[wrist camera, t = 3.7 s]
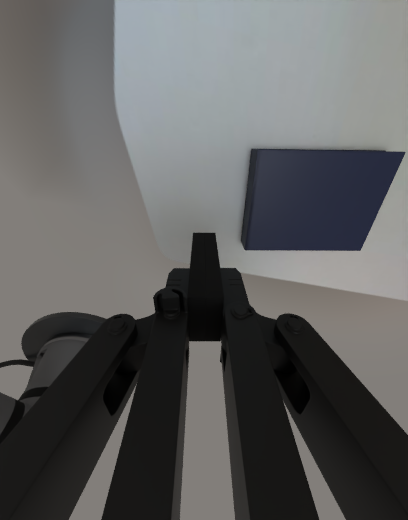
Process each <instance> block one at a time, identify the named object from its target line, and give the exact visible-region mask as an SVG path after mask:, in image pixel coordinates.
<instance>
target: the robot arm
mask: <svg viewBox="0 0 408 520" xmlns="http://www.w3.org/2000/svg"><path fill="white" fill-rule="evenodd" d="M153 299H154V305H155V313H154V314H152V315H151V316H148V317H145V318H141V319H137V320H135V319H134V318H133V317H132V316H130V315H128V314H119V315H114V316H112V317H111V318H108V319H107V320H106V321H105V322H104V323H102V325H101V326H100V327H99V328H98V329H97V331H96V332H95V333H94V334H93V335H90V334H86V333H78V332H69V333H62V334H58V335H55V336H53V337H51V338H50V339H49V340H47V342H46V343H45V344H44V346H43V347H42V348H41V350H40V351H39V354H38V356H37V358H36V362H34V361H28V360H10V361H6V362H2V363H0V368H1V367H4V366H9V365H25V366H32V367H33V370H32V373H31V376H30V379H29V382H28V385H27V388H26V390H25V391H24V393H23V394H22V396H21V397H20V399H19V400H16V399H14V398H12V397H9V396H7V395H5V394H2V393H0V520H69V517H70V516H71V514H72V512H73V510H74V508H75V506H76V503H77V502H78V500H79V497H80V496H81V494H82V492H83V490H84V488H85V486H86V484H87V482H88V480H89V478H90V476H91V474H92V472H93V470H94V468H95V466H96V464H97V461H98V460H99V458H100V456H101V454H102V452H103V450H104V448H105V446H106V444H107V442H108V440H109V438H110V436H111V434H112V432H113V430H114V428H115V426H116V424H117V422H118V420H119V418H120V416H121V414H122V412H123V410H124V408H125V406H126V403H127V402H128V400H129V398H130V396H131V394H132V392H133V390H134V387H135V386H136V389H135V393H134V397H133V401H132V405H131V409H130V413H129V416H128V420H127V424H126V427H125V431H124V435H123V439H122V443H121V447H120V450H119V454H118V458H117V462H116V466H115V470H114V474H113V477H112V481H111V485H110V489H109V492H108V497H107V500H106V504H105V508H104V512H103V516H102V519H101V520H180V503H181V502H180V501H181V486H182V468H183V450H184V433H185V414H186V397H187V379H188V363H189V341H221V343H222V346H221V357H220V362H222V370H223V382H224V394H225V404H226V417H227V429H228V441H229V452H230V464H231V474H232V488H233V499H234V511H235V520H319V517H318V514H317V511H316V507H315V504H314V501H313V497H312V494H311V491H310V488H309V484H308V481H307V478H306V475H305V472H304V468H303V465H302V461H301V458H300V455H299V452H298V448H297V445H296V442H295V439H294V435H293V432H292V429H291V426H290V423H289V419H288V416H287V412H286V409H285V406H284V403H285V405H286V407H287V409H288V410H289V412H290V414H291V416H292V418H293V420H294V422H295V424H296V425H297V428H298V429H299V431H300V433H301V435H302V437H303V439H304V441H305V443H306V445H307V447H308V448H309V450H310V452H311V454H312V456H313V458H314V460H315V462H316V464H317V465H318V467H319V469H320V471H321V473H322V475H323V477H324V479H325V481H326V482H327V484H328V486H329V488H330V490H331V492H332V494H333V496H334V498H335V500H336V501H337V503H338V505H339V507H340V509H341V511H342V513H343V515H344V517H345V519H346V520H408V435H407V434H406V433H405V432H404V430H403V429H402V428H401V427H400V426H399V425H398V424H397V422H396V421H395V420H394V419H393V418H392V417H391V416H390V414H389V413H388V412H387V411H386V410H385V409H384V408H383V407H382V405H381V404H380V403H379V402H378V401H377V400H376V399H375V397H374V396H373V395H372V394H371V393H370V392H369V391H368V390H367V388H366V387H365V386H364V385H363V384H362V383H361V382H360V380H359V379H358V378H357V377H356V376H355V375H354V374H353V373H352V372H351V370H350V369H349V368H348V367H347V366H346V365H345V363H344V362H343V361H342V360H341V359H340V358H339V357H338V356H337V354H336V353H335V352H334V351H333V350H332V349H331V348H330V346H329V345H328V344H327V343H326V342H325V341H324V340H323V339H322V337H321V336H320V335H319V334H318V333H317V332H316V331H315V330H314V328H313V327H312V326H311V325H310V324H309V323H308V322H307V321H306V320H305V319H303V318H302V317H300V316H298V315H294V314H283V315H280V316H279V317H278V318H277V320H275V319H271V318H267V317H264V316H261V315H259V314H257V313H256V312H255V310H254V308H253V307H251V306H250V304H249V301H248V298H247V294H246V291H245V288H244V284H243V281H242V277H241V273H240V272H239V271H238V270H237V269H236V268H220V264H219V257H218V250H217V242H216V235H215V233H193V241H192V252H191V263H190V269H189V268H188V269H185V268H174V269H173V270H172V271H171V272H170V273H169V275H168V279H167V284H166V287H165V288H164V289H161V290H160V291H158V292H157V293H156V294H155V295H154V297H153ZM136 384H137V385H136ZM283 401H284V402H283Z"/></svg>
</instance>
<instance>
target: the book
mask: <svg viewBox="0 0 408 520" xmlns="http://www.w3.org/2000/svg"><path fill="white" fill-rule="evenodd" d="M404 155H405V152H386V151H377V150H300V149H252V150H251V158H250V167H249V176H248V184H247V193H246V202H245V210H244V219H243V228H242V236H241V242H242V244H243V247H244V249H245V250H339V251H360V250H361V248H362V246H363V244H364V242H365V240H366V238H367V235H368V233H369V231H370V229H371V227H372V224H373V222H374V220H375V218H376V216H377V214H378V211H379V209H380V207H381V205H382V203H383V200H384V198H385V196H386V194H387V192H388V190H389V187H390V185H391V183H392V181H393V179H394V176H395V174H396V172H397V170H398V168H399V166H400V163H401V161H402V159H403V157H404Z"/></svg>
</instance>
